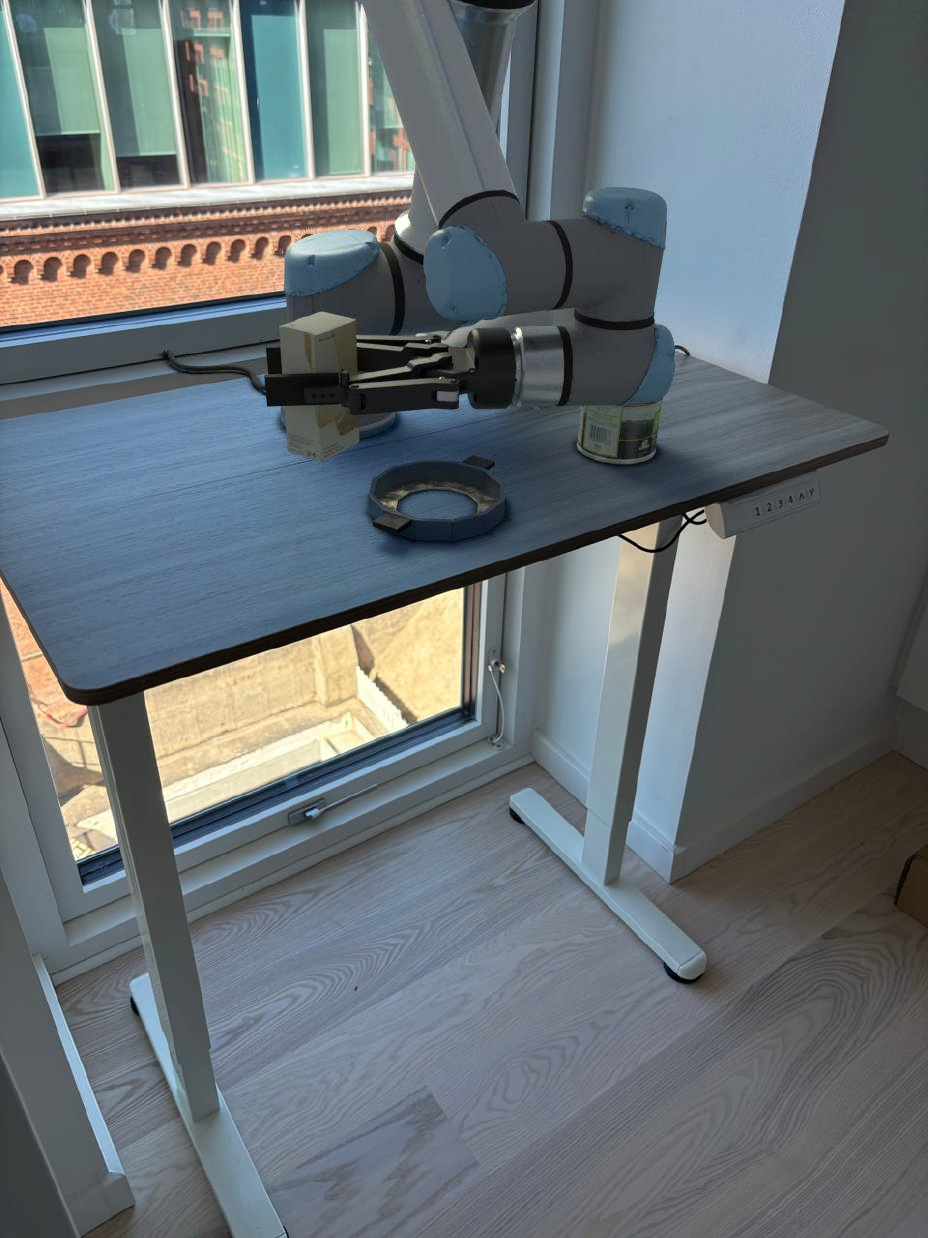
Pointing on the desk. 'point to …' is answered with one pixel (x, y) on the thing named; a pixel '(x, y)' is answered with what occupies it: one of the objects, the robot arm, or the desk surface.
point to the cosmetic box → (319, 350)
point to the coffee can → (619, 432)
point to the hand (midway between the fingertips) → (266, 374)
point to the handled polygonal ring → (441, 476)
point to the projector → (495, 326)
